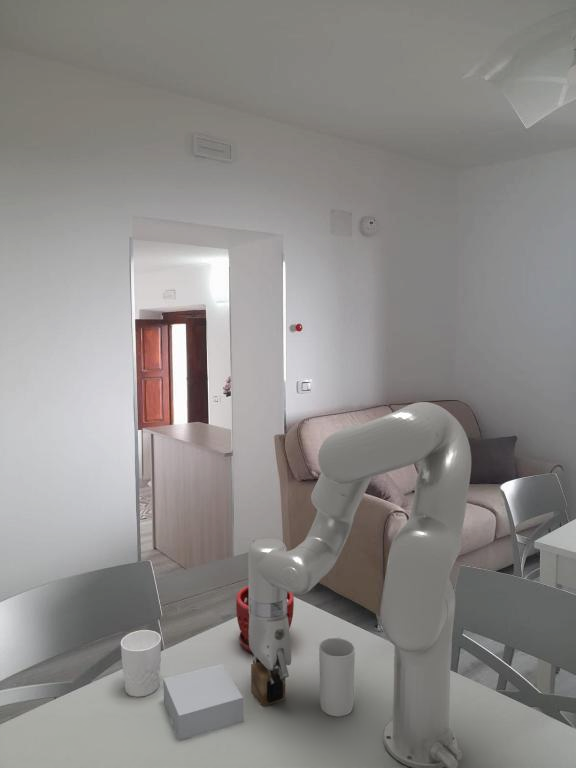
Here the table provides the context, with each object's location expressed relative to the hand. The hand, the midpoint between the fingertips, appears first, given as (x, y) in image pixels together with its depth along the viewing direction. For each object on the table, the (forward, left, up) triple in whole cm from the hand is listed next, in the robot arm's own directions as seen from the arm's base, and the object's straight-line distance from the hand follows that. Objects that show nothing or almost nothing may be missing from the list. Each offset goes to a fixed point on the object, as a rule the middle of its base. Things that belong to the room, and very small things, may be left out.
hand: (268, 691), depth 116 cm
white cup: (+15, +21, -1) cm, 26 cm away
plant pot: (+17, -8, -1) cm, 19 cm away
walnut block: (0, 0, -1) cm, 1 cm away
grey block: (+2, +13, -1) cm, 13 cm away
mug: (-8, -11, -1) cm, 14 cm away
